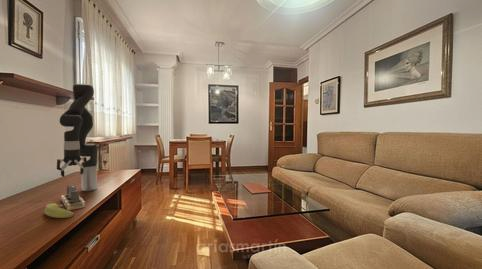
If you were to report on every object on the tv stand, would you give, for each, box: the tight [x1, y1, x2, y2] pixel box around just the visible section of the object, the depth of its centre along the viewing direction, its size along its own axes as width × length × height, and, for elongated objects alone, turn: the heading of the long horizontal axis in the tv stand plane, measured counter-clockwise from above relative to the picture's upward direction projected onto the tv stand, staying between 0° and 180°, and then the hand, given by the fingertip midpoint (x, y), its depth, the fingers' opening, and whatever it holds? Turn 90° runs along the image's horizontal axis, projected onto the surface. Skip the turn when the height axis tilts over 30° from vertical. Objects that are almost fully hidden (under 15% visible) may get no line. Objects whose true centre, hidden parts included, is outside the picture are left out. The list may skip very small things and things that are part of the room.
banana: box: [44, 202, 75, 219], centre depth 117 cm, size 14×6×20 cm
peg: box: [69, 185, 77, 200], centre depth 131 cm, size 4×4×10 cm
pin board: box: [61, 184, 86, 211], centre depth 131 cm, size 23×8×9 cm, turn 46°
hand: (72, 175), depth 130 cm, fingers open, 8 cm apart
